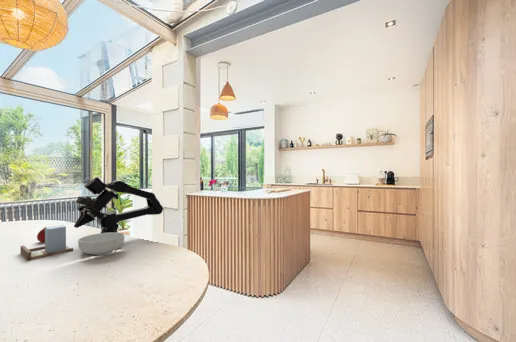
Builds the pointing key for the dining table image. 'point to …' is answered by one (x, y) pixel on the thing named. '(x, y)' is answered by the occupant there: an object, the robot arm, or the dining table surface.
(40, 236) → the onion
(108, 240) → the cereal bowl
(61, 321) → the dining table surface
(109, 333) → the dining table surface
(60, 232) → the blue block
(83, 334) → the dining table surface
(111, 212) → the robot arm
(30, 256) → the box
